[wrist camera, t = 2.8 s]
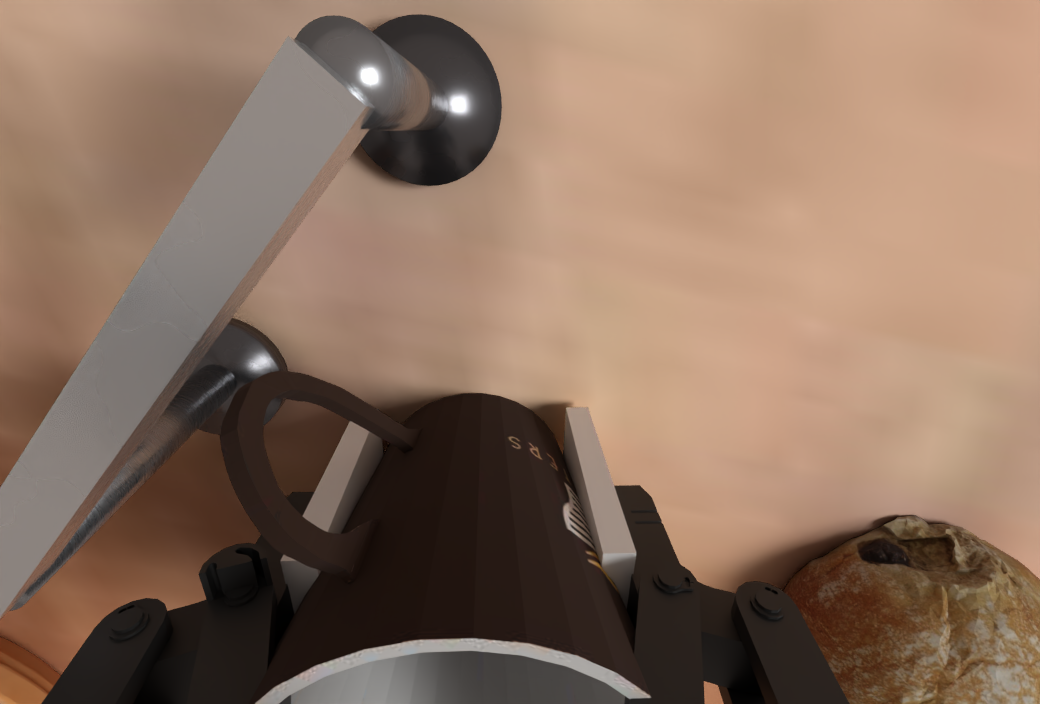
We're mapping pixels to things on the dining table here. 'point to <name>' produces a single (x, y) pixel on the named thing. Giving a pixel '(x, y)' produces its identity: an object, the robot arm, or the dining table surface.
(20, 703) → the saucer
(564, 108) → the dining table surface
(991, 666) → the bread roll
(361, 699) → the coffee mug
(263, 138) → the bent wire
